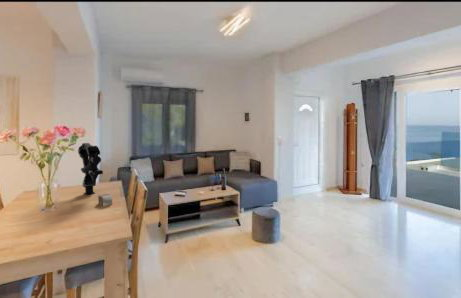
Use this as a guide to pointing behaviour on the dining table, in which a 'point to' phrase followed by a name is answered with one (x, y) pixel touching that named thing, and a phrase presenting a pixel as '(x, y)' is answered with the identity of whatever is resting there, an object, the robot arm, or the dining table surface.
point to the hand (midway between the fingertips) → (94, 182)
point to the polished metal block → (105, 199)
